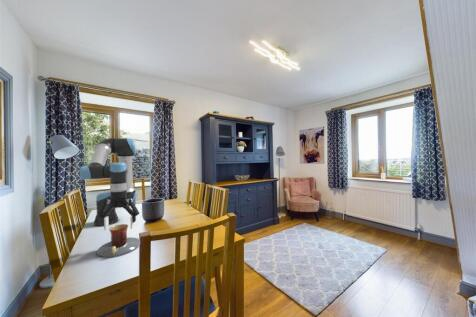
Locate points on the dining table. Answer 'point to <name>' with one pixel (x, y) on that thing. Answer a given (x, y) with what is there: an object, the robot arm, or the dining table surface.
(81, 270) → the dining table surface
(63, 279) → the dining table surface
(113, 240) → the mug
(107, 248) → the seat disc
